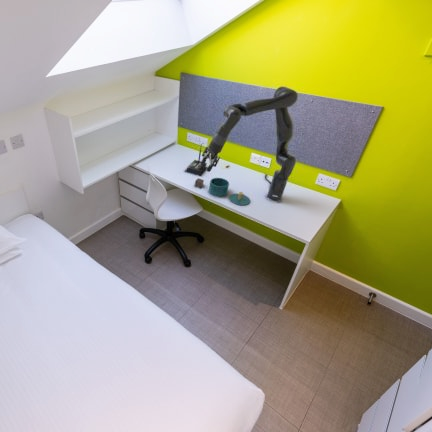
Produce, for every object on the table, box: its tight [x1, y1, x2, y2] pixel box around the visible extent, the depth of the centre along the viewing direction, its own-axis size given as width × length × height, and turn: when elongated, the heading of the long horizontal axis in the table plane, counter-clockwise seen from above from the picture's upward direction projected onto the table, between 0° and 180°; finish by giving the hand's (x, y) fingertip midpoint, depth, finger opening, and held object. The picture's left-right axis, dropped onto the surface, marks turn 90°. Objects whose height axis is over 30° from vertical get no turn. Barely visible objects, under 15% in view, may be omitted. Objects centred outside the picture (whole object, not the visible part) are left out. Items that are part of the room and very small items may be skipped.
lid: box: [228, 191, 251, 207], centre depth 199 cm, size 14×14×6 cm
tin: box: [208, 177, 230, 198], centre depth 206 cm, size 13×13×8 cm
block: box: [194, 177, 205, 189], centre depth 214 cm, size 5×5×5 cm
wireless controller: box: [184, 143, 208, 177], centre depth 231 cm, size 20×14×17 cm
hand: (204, 168), depth 172 cm, fingers open, 8 cm apart
